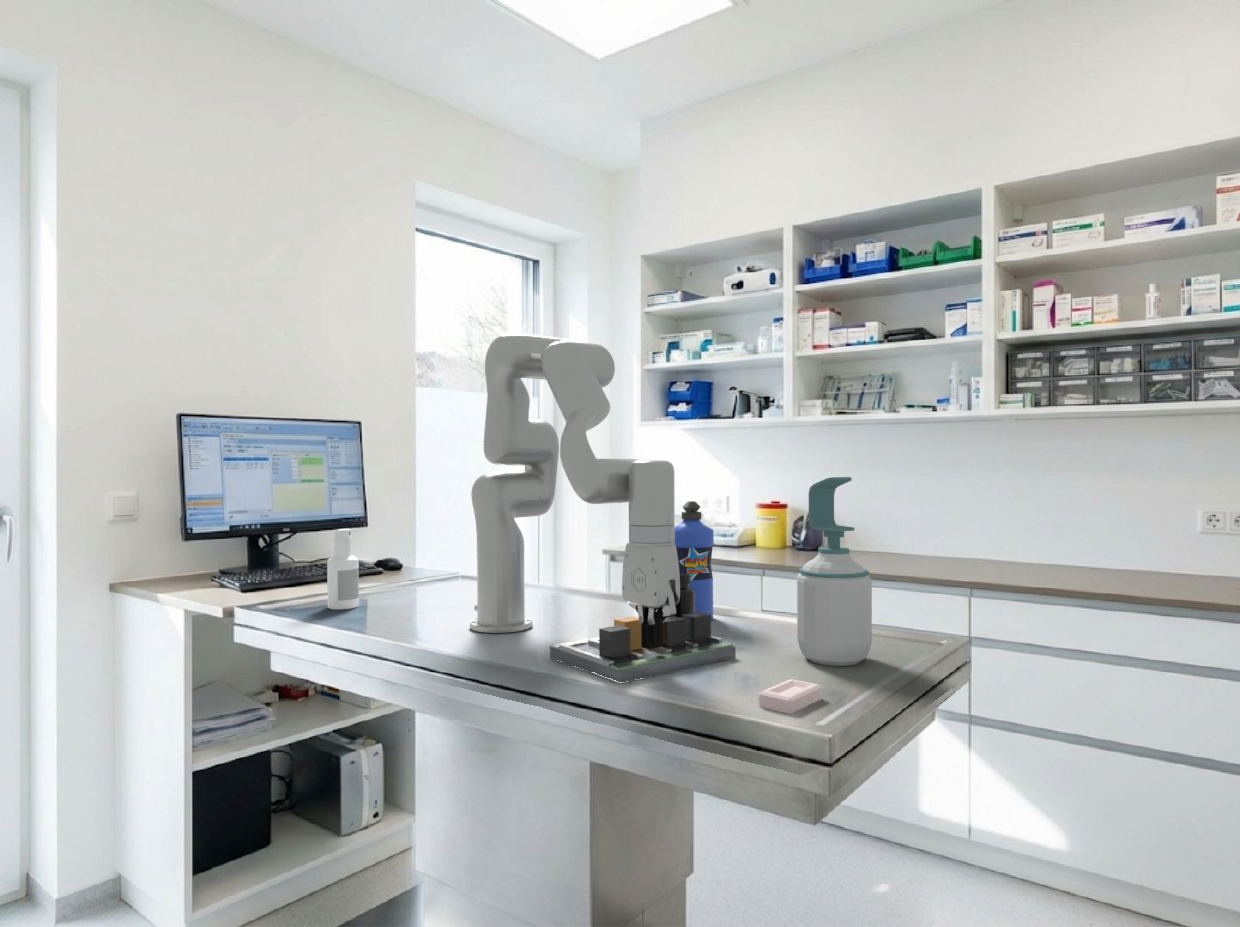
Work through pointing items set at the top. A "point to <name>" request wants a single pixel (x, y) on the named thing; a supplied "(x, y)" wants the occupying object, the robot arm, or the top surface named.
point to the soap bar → (789, 696)
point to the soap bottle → (833, 591)
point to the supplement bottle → (685, 597)
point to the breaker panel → (647, 650)
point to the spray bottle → (343, 573)
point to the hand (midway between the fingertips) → (652, 647)
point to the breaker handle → (631, 630)
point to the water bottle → (696, 556)
